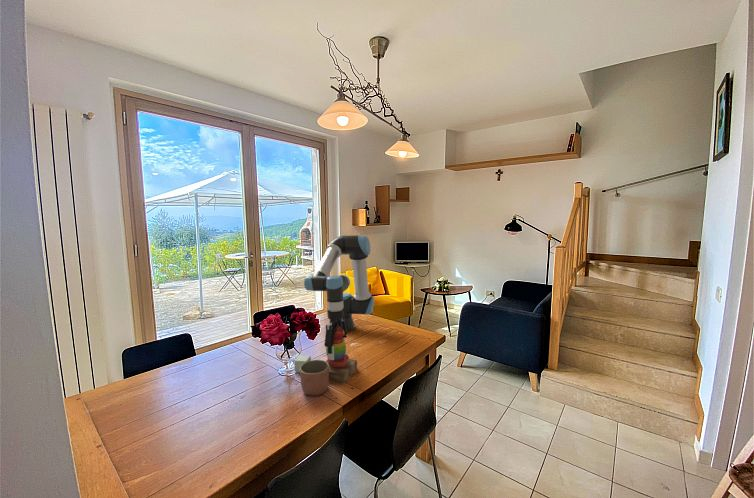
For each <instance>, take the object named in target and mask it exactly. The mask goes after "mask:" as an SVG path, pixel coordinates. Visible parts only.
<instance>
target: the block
mask: <svg viewBox="0 0 754 498" xmlns="http://www.w3.org/2000/svg"><path fill="white" fill-rule="evenodd" d="M311 359H312V357H311V355H309V354H308V355H305V354H304V355H302V354H299V355H297V357H296V358H295V359H294V361H293V363H294V365H293V366H294V372H295V371H296V372H295V373H299V374H300V367H301V365H302V364H304V363H306V362H308V361H312V360H311Z"/></svg>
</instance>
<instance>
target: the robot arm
mask: <svg viewBox="0 0 754 498" xmlns="http://www.w3.org/2000/svg"><path fill="white" fill-rule="evenodd" d="M370 254H371V242H370V240H369V238H368V235H361V234H359V235H339V236H337V237H336V238H333V239H332V240H330V242H328V244H327V246H326V247H325V253H324V255H323V256H322V258H321V259H320V262H319V263H318V265H317V266H316V268H315V270H314V272H313V274H312V275H307V276H305V278H304V280H303V281H304V283H303V286H304V289H305V290H306V291H311V292H326V301H327V302H326V307H327V311H326V312H327V319H328V320H329V324H326V325H325V336H324V337H325V339H324V347H325V348H326V347H328V357H327V360H328V359H329V360H334V346H333V342H334V337H335V332H337V328H338V327H341V328H342V329H343V330H344V332H345V333H344V336H343V338H344V341H346V338H347V337H348V332H351V331H354V330H355V329H356V325H355V321H354V318H353V316H352V315H364V316H365V315H371V314H372V313H373V311H374V305H375V297H374V296H372V293H371V292H370V291H369V281H368V269H367V259H368V258H369V255H370ZM343 255H348V256H349V259H350V261H351V263H352V271H353V272H352V273H353V284H354V293H353V295H352V293H350V292H346V290H348V289H349V287H350V285H351V280H350V278H349V277H348V276H347V275H345V274H339V275H330V274H331V272H332V270H333V268H334V267H335V263H336V262H337V259H338V258H340V257H341V256H343ZM344 292H345V293H344ZM332 329H335V330H332Z"/></svg>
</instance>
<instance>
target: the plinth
mask: <svg viewBox="0 0 754 498" xmlns="http://www.w3.org/2000/svg"><path fill="white" fill-rule="evenodd" d="M325 361H326V362H327V360H325ZM357 361H358V360H357V359H351V358H349V359H348V360H346V362H347V366H345V367H333V366H330V365H329V382H332V383H337V384H342V385H345V384H346V382H348V380H349V379H350V378H351V377H352V376H353V374H354V373H355V372H356V371H357V370H358V365H357V364H358V362H357Z"/></svg>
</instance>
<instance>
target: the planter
mask: <svg viewBox="0 0 754 498" xmlns="http://www.w3.org/2000/svg"><path fill="white" fill-rule="evenodd" d="M326 361H327V360H321V359H312V360H311V361H308V362H306V363H304V364H302V365H301V367H300V373H299V374H300V375H299V376H300V377H299V379H300V386H301V389H302V391H303V393H304V394H306V395H307V396H311V397H314V396H315V397H316V396H320V395H321V394H324V393H325V392H326V391H327V390H328V388H329V385H330V381H329V364H328V363H327V362H326Z"/></svg>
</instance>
